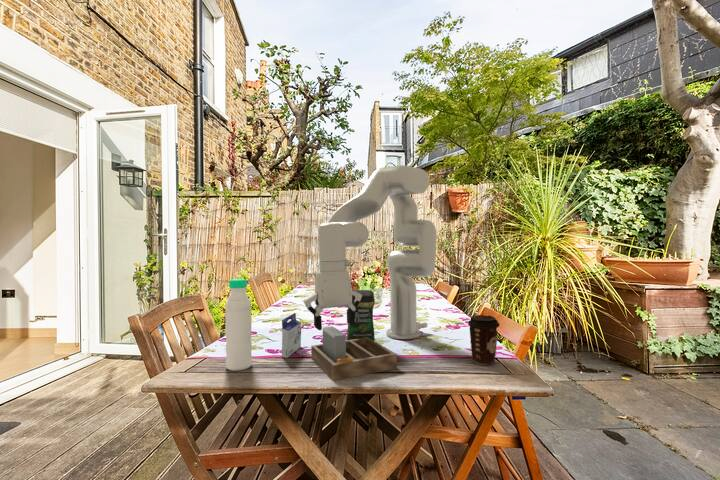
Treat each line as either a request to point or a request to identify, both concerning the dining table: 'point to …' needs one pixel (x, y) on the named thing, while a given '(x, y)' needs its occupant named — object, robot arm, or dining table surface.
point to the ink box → (290, 335)
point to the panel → (334, 343)
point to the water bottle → (238, 327)
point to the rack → (366, 353)
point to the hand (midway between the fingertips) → (334, 326)
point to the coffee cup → (483, 339)
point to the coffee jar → (362, 317)
